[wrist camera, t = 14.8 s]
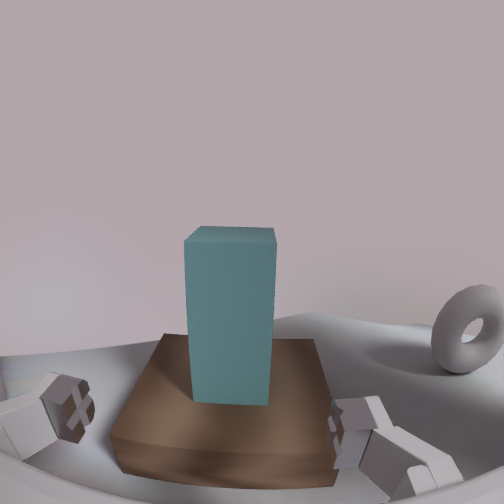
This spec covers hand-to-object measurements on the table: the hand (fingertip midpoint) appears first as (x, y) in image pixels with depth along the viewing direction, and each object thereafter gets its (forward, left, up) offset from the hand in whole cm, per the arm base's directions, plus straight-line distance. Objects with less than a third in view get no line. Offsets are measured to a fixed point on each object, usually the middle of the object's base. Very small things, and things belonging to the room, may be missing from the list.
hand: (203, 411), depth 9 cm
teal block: (0, -12, -7) cm, 14 cm away
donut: (-24, -17, -12) cm, 31 cm away
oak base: (0, -12, -11) cm, 16 cm away
